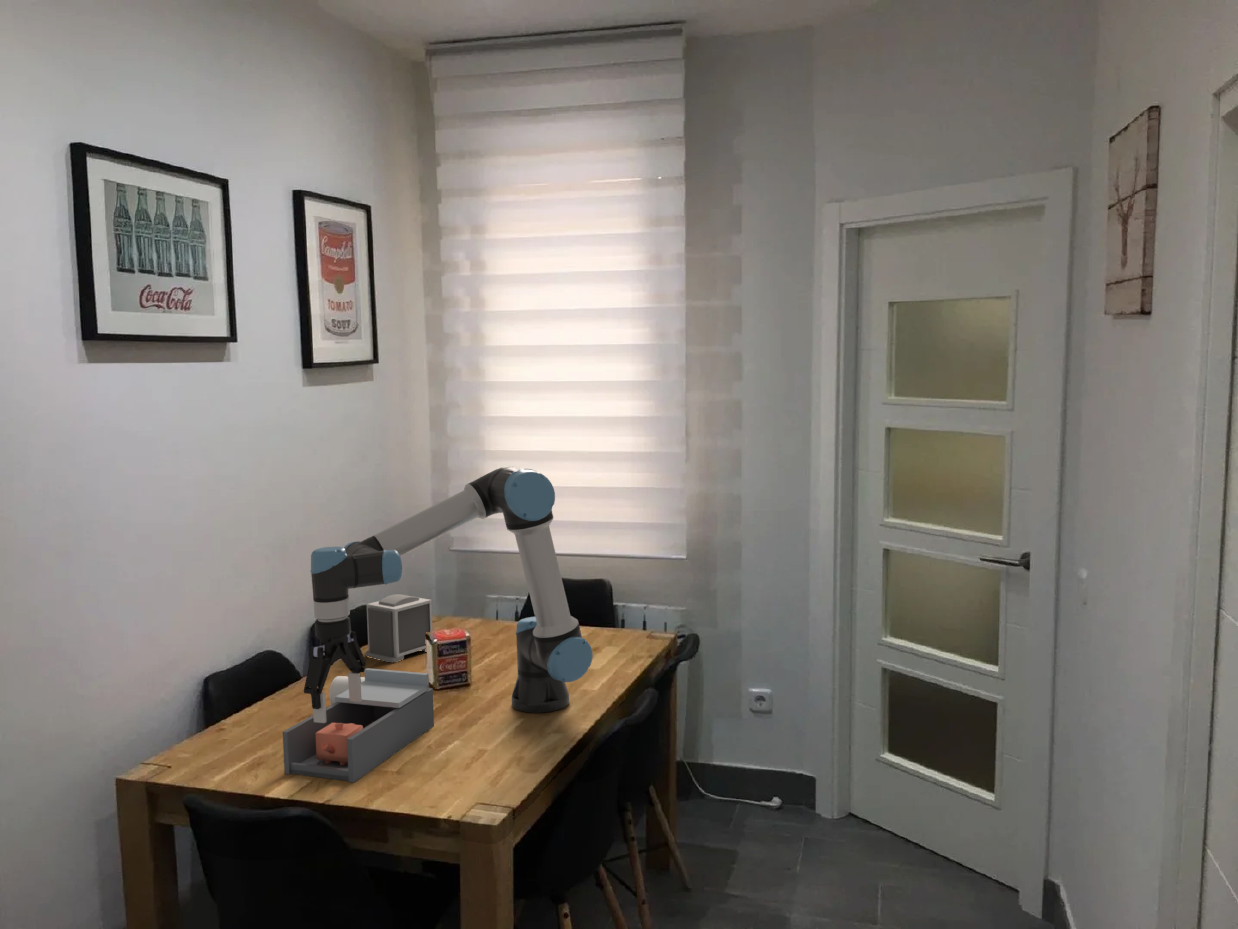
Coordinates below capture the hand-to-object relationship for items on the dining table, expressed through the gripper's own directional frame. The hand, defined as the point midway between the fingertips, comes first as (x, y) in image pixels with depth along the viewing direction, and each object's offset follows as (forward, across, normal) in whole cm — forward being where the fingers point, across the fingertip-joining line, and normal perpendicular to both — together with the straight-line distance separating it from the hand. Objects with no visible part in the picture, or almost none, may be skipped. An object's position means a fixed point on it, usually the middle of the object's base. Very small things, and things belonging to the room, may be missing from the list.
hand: (338, 711), depth 215 cm
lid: (+3, -19, 0) cm, 19 cm away
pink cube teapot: (+11, 0, 0) cm, 11 cm away
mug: (+13, -36, -19) cm, 43 cm away
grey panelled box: (+13, -82, -34) cm, 90 cm away
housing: (+12, -10, -1) cm, 16 cm away
